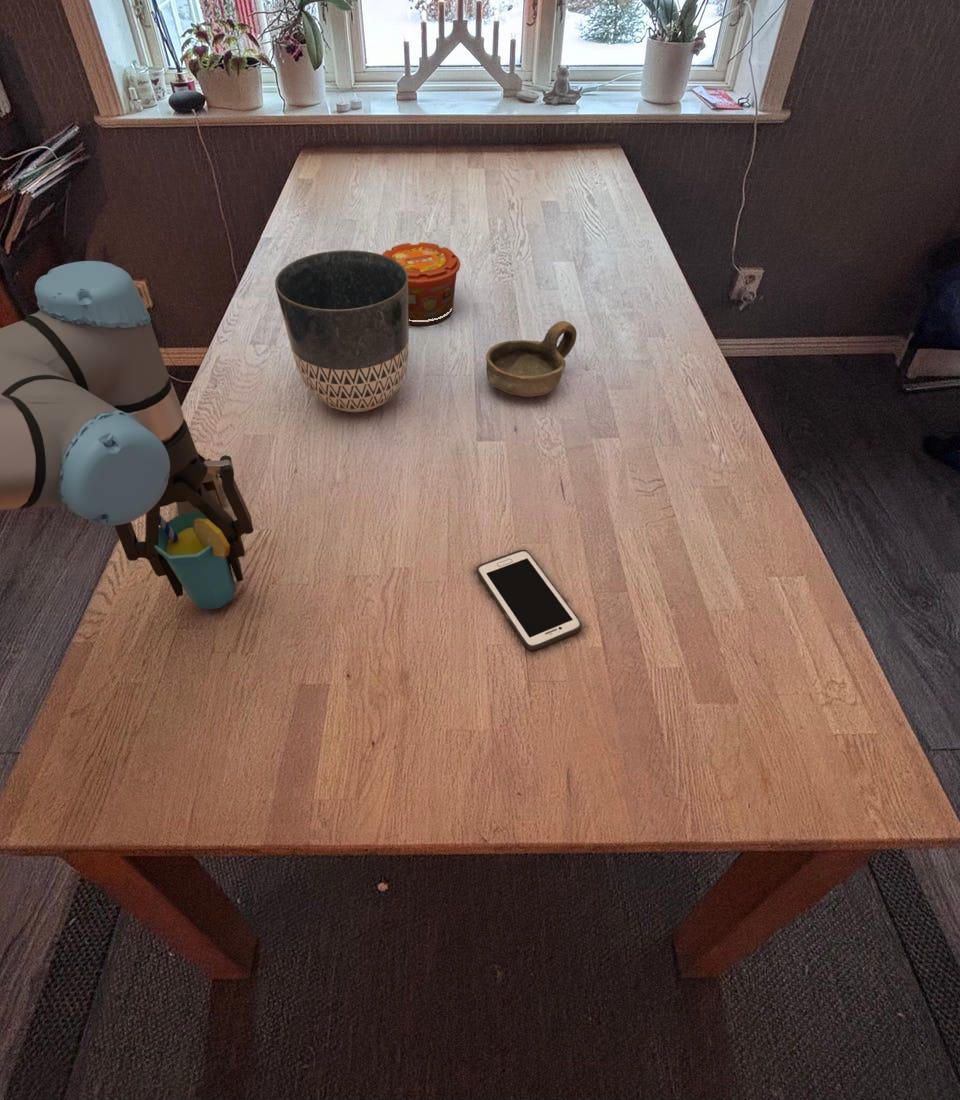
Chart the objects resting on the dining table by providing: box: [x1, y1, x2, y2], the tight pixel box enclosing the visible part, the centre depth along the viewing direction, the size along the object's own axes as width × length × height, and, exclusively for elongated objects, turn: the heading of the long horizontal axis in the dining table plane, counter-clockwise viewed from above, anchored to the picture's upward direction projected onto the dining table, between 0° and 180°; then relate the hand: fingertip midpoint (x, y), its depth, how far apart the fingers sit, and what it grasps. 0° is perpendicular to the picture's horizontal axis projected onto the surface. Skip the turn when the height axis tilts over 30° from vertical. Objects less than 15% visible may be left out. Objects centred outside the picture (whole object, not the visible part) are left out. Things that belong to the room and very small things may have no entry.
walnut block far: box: [202, 458, 223, 508], centre depth 96 cm, size 5×5×5 cm
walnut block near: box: [176, 490, 220, 516], centre depth 92 cm, size 5×5×5 cm
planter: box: [274, 249, 410, 413], centre depth 108 cm, size 20×20×21 cm
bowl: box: [485, 320, 577, 397], centre depth 117 cm, size 14×18×10 cm
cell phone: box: [476, 549, 582, 651], centre depth 86 cm, size 8×15×1 cm, turn 27°
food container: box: [381, 242, 461, 327], centre depth 134 cm, size 16×16×11 cm
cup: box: [154, 512, 236, 610], centre depth 79 cm, size 14×8×15 cm, turn 75°
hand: (209, 580), depth 83 cm, fingers closed on cup, 6 cm apart
